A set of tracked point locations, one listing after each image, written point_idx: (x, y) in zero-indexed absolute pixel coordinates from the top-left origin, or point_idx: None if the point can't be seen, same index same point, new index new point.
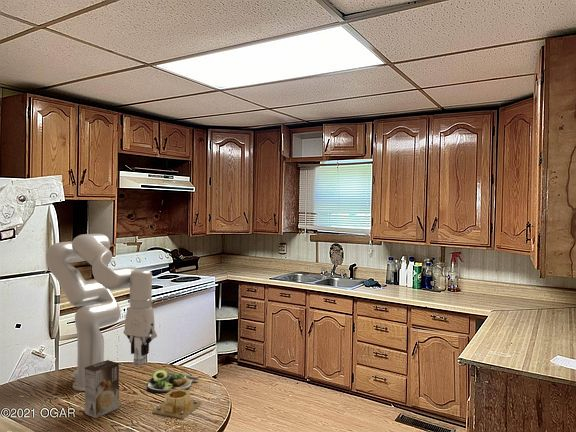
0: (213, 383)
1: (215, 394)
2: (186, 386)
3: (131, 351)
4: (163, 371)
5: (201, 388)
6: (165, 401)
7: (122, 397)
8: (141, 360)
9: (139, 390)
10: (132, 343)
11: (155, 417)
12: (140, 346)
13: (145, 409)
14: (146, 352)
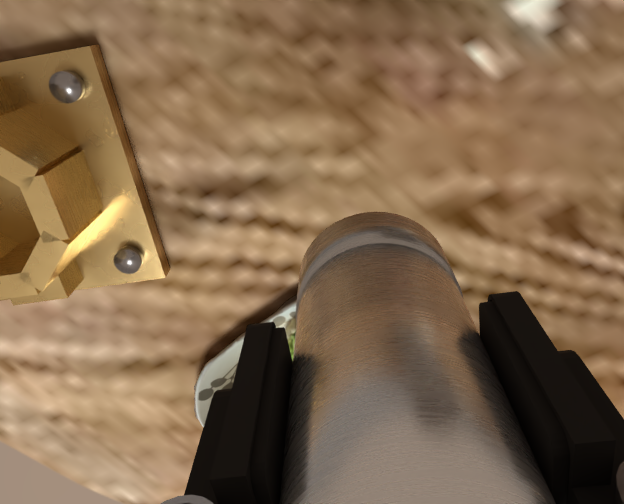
0: (146, 498)
1: (23, 414)
2: (197, 403)
3: (516, 313)
4: None
5: (147, 434)
6: (51, 148)
7: (488, 119)
8: (304, 285)
9: (457, 257)
10: (570, 448)
11: (24, 3)
12: (306, 437)
13: (188, 61)
14: (217, 395)
